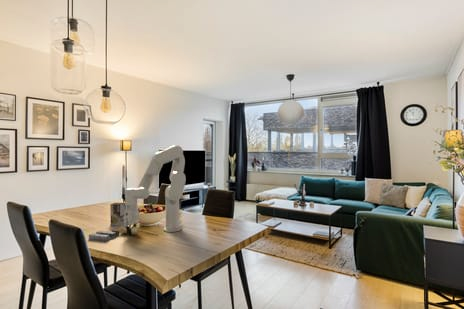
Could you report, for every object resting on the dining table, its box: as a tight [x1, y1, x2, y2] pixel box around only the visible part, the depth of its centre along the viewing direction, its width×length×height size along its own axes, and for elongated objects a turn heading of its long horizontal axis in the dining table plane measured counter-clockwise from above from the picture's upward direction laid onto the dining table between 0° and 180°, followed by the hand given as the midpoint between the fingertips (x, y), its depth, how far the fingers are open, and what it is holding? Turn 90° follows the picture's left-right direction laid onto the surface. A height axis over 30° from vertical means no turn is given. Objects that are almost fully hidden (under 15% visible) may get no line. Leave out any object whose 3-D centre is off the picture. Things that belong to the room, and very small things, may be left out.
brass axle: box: [118, 225, 140, 236], centre depth 173 cm, size 5×12×5 cm, turn 74°
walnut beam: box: [111, 225, 122, 237], centre depth 175 cm, size 9×5×4 cm, turn 165°
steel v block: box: [88, 230, 117, 242], centre depth 165 cm, size 9×13×3 cm
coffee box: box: [110, 202, 126, 227], centre depth 196 cm, size 9×6×16 cm
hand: (131, 233), depth 172 cm, fingers closed on brass axle, 5 cm apart
